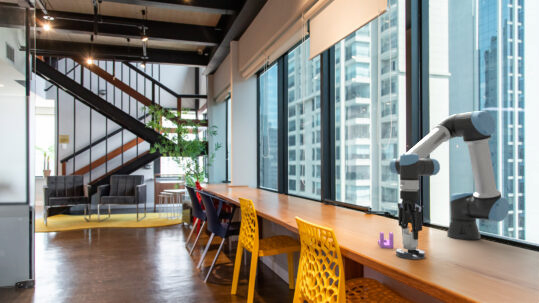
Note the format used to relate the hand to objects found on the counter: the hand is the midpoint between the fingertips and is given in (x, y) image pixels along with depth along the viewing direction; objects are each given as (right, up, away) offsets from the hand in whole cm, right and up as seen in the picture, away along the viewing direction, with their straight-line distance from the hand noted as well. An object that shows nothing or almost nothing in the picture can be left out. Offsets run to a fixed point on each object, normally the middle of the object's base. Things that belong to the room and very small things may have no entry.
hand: (410, 245), depth 148 cm
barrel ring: (0, -4, 0) cm, 4 cm away
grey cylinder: (0, -1, 0) cm, 1 cm away
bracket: (-4, -5, +19) cm, 21 cm away
